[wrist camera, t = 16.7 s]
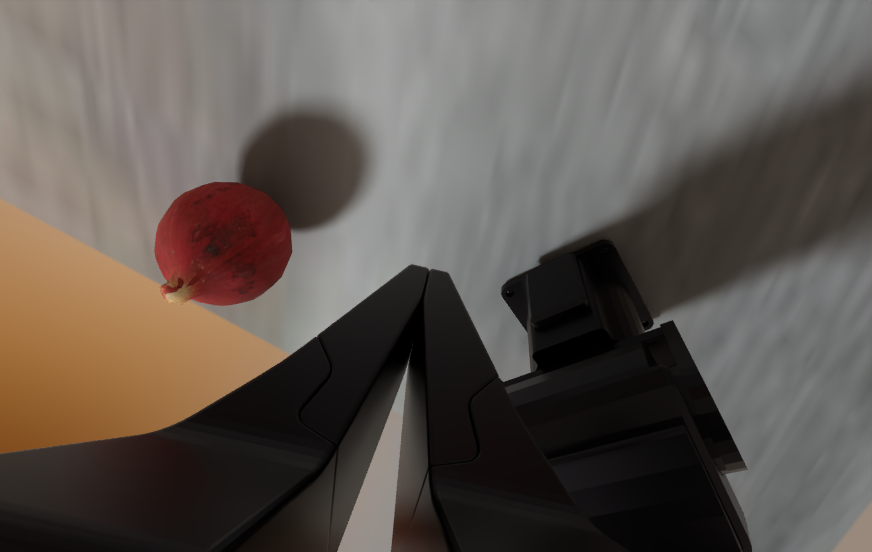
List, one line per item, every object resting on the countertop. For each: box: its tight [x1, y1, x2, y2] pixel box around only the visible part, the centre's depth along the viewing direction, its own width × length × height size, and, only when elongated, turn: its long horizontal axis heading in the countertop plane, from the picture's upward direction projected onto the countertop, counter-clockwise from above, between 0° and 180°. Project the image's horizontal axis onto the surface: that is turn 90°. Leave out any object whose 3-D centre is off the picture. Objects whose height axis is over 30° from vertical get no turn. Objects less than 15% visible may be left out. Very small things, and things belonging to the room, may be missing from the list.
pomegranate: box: [155, 182, 292, 306], centre depth 21 cm, size 6×6×8 cm
